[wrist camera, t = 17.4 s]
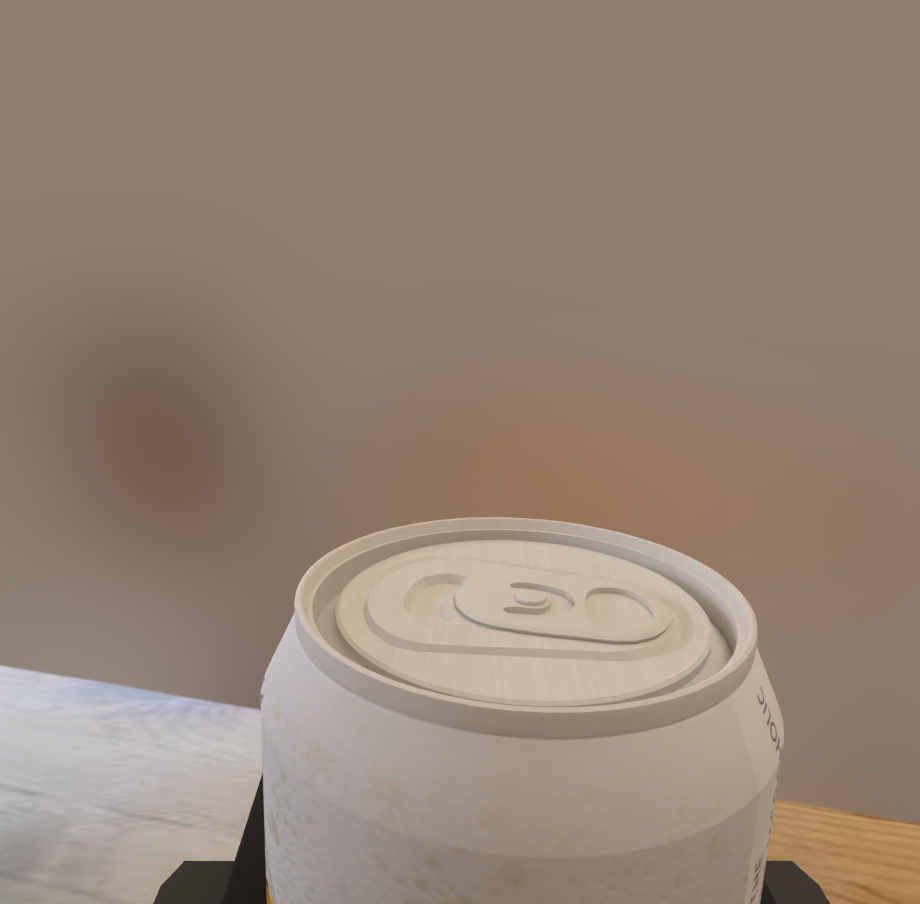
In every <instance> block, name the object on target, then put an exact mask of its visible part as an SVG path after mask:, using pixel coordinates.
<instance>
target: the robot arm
mask: <svg viewBox="0 0 920 904" xmlns="http://www.w3.org/2000/svg"><path fill="white" fill-rule="evenodd" d="M153 904H267V894H266V861H265V827H264V794H263V774H262V777H261V780H260V783H259V786H258V789H257V793H256V796H255V799H254V802H253V805H252V808H251V811H250V814H249V818H248V821H247V824H246V827H245V830H244V833H243V836H242V839H241V843H240V846H239V849H238V852H237V855H236V858H235V861H184V862H183V863H182V864H181V865H180V866H179V867H178V868H177V870H176V871H175V872H174V873H173V874H172V875H171V876H170V877H169V878H168V879H167V880H166V881H165V882H164V883H163V884H162V885H161V887H160V889H159V891H158V894H157V896H156V898H155V901H154V903H153ZM760 904H830V903H829V901H828V900H827V898H826V896H825V895H824V893H823V891H822V890H821V888H820V886H819V885H818V884H817V883H816V882H815V881H814V880H812V879H811V878H810V877H809V876H808V875H807V874H806V873H805V872H804V871H802V870H801V869H800V868H799V867H798V866H797V865H796V864H795V863H793V862H792V861H766V866H765V873H764V880H763V887H762V893H761V900H760Z"/></svg>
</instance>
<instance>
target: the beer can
mask: <svg viewBox="0 0 920 904" xmlns="http://www.w3.org/2000/svg"><path fill="white" fill-rule="evenodd" d="M294 604H295V613H294V615H293V617H292V619H291V621H290V623H289V626H288V627H287V629H286V631H285V633H284V636H283V637H282V640H281V642H280V644H279V646H278V648H277V650H276V652H275V654H274V656H273V658H272V660H271V662H270V664H269V666H268V669H267V671H266V673H265V675H264V679H263V684H262V688H261V727H262V760H263V794H264V827H265V861H266V894H267V904H760V900H761V893H762V887H763V880H764V873H765V866H766V859H767V853H768V846H769V839H770V832H771V825H772V818H773V812H774V805H775V798H776V791H777V784H778V777H779V771H780V764H781V757H782V750H783V743H784V727H783V719H782V716H781V713H780V709H779V705H778V702H777V700H776V697H775V695H774V692H773V689H772V686H771V684H770V681H769V678H768V676H767V673H766V671H765V668H764V665H763V662H762V660H761V657H760V655H759V652H758V650H757V647H756V646H757V639H758V633H757V632H758V630H757V629H758V627H757V622H756V618H755V615H754V612H753V610H752V608H751V606H750V605H749V603H748V601H747V600H746V599H745V597H744V596H743V595H742V594H741V593H740V591H739V590H738V589H737V588H736V587H734V586H733V585H732V584H731V583H730V582H729V581H728V580H726V579H725V578H724V577H722V576H721V575H720V574H718V573H717V572H715V571H714V570H712V569H710V568H709V567H707V566H705V565H704V564H702V563H700V562H698V561H696V560H694V559H692V558H690V557H688V556H686V555H684V554H681V553H679V552H677V551H675V550H672V549H670V548H667V547H664V546H662V545H659V544H656V543H653V542H650V541H647V540H644V539H641V538H637V537H634V536H631V535H627V534H623V533H619V532H615V531H611V530H606V529H602V528H597V527H591V526H586V525H580V524H574V523H567V522H559V521H550V520H540V519H528V518H500V517H497V518H496V517H494V518H493V517H484V518H460V519H446V520H437V521H429V522H422V523H416V524H410V525H405V526H401V527H396V528H391V529H388V530H384V531H380V532H376V533H373V534H370V535H367V536H364V537H361V538H358V539H356V540H353V541H351V542H349V543H346V544H344V545H342V546H340V547H339V548H337V549H335V550H333V551H331V552H329V553H328V554H326V555H325V556H324V557H322V558H321V559H319V560H318V561H317V562H316V563H315V564H314V565H313V566H312V567H310V568H309V570H308V571H307V572H306V574H305V575H304V576H303V577H302V579H301V581H300V583H299V586H298V588H297V591H296V596H295V602H294Z"/></svg>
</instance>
